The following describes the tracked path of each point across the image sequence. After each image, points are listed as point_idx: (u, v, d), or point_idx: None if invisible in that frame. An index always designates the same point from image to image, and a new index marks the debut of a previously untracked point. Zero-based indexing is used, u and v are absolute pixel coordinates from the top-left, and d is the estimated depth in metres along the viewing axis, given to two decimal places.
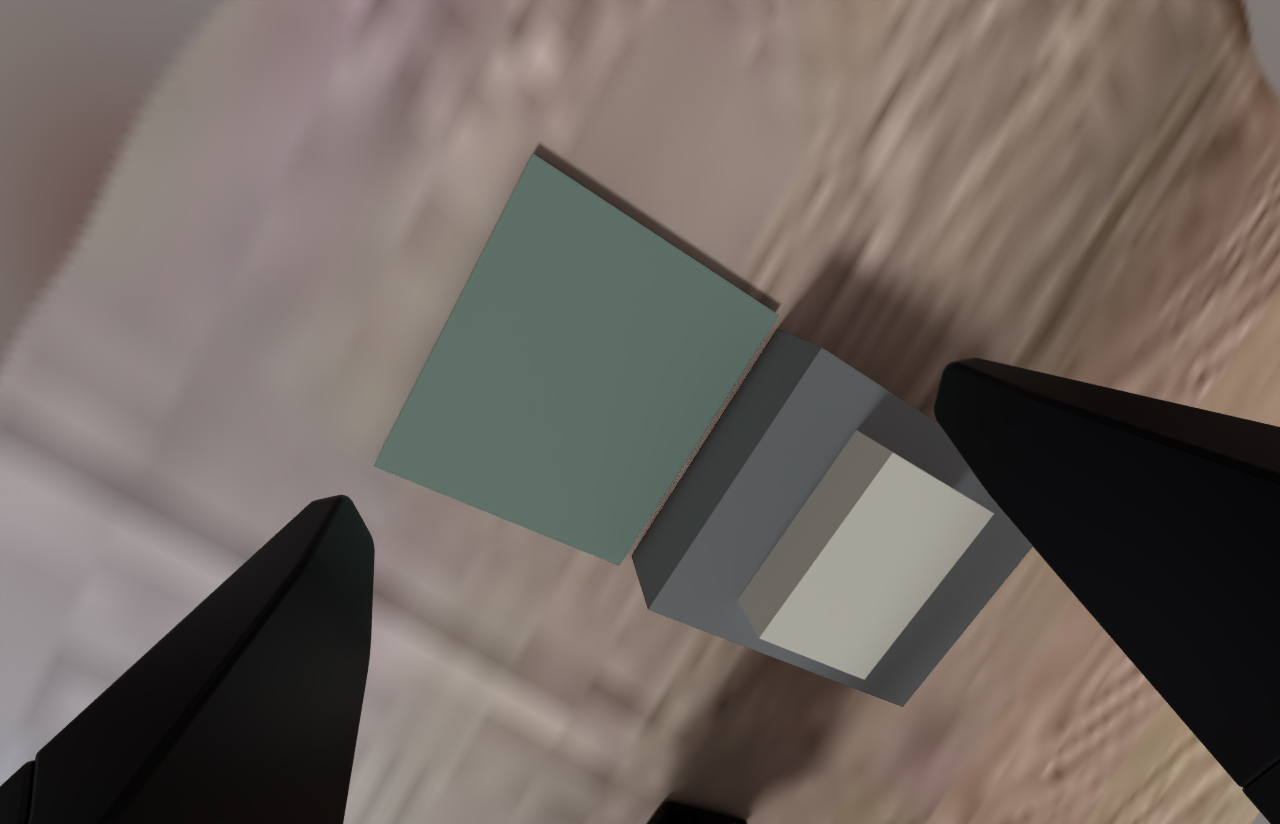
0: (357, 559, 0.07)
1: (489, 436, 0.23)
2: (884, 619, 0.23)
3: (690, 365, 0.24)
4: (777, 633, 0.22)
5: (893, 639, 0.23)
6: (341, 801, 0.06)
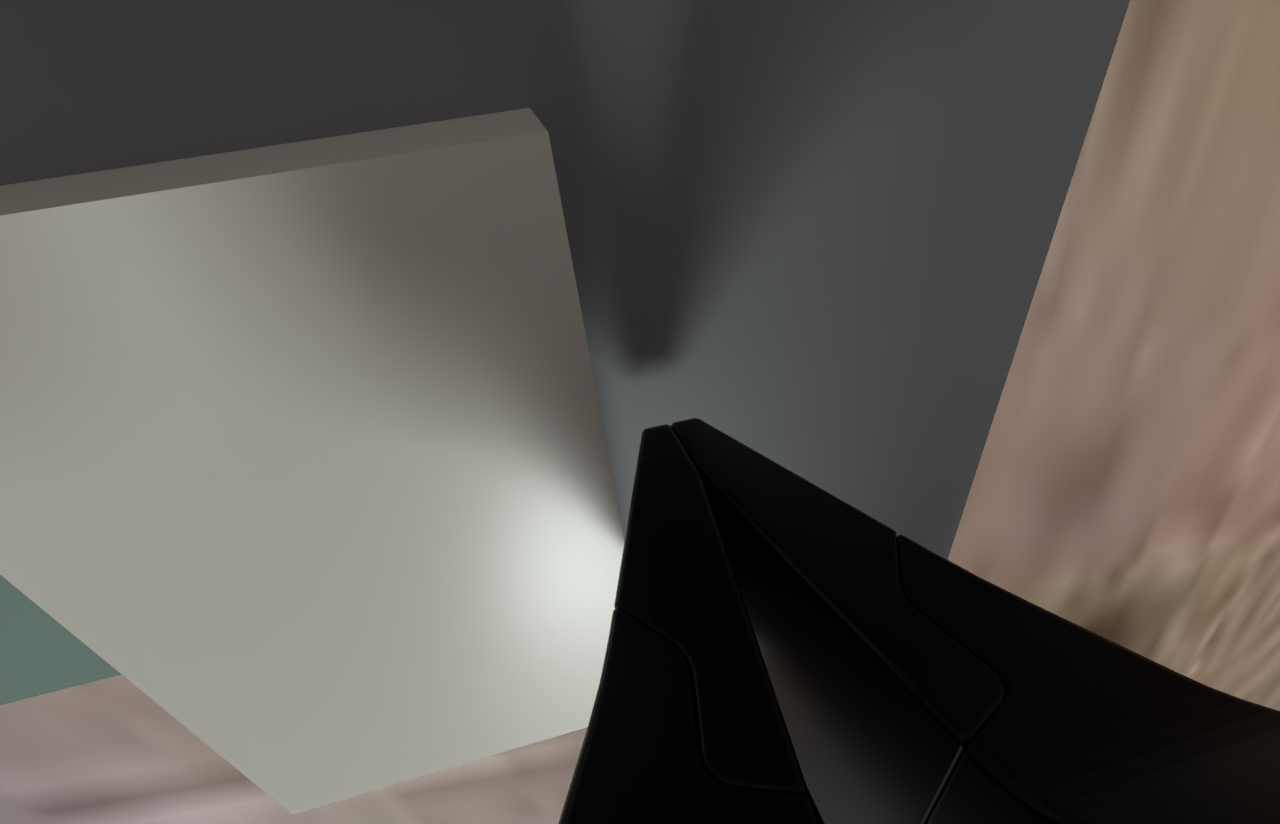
0: None
1: None
2: (550, 627, 0.08)
3: None
4: (318, 789, 0.08)
5: None
6: None
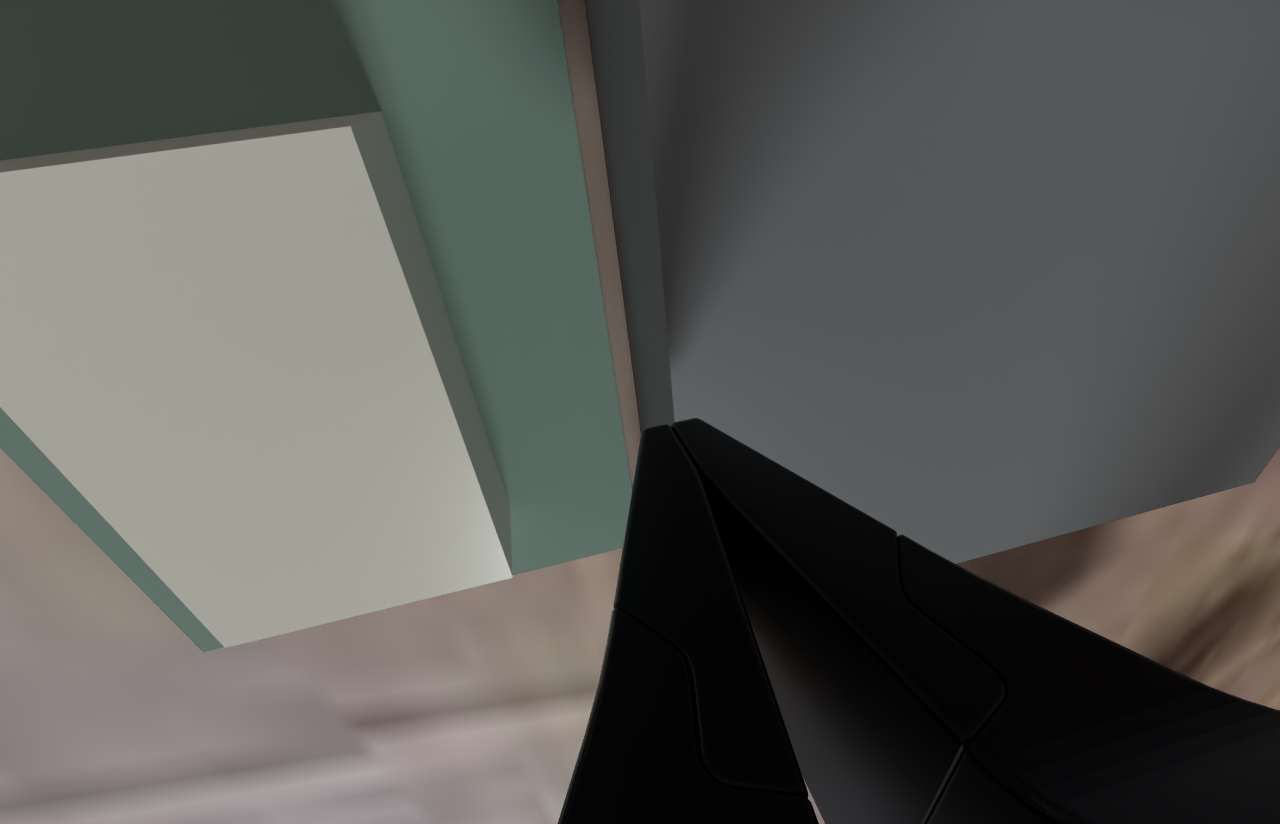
0: None
1: None
2: None
3: (459, 194, 0.10)
4: None
5: None
6: None
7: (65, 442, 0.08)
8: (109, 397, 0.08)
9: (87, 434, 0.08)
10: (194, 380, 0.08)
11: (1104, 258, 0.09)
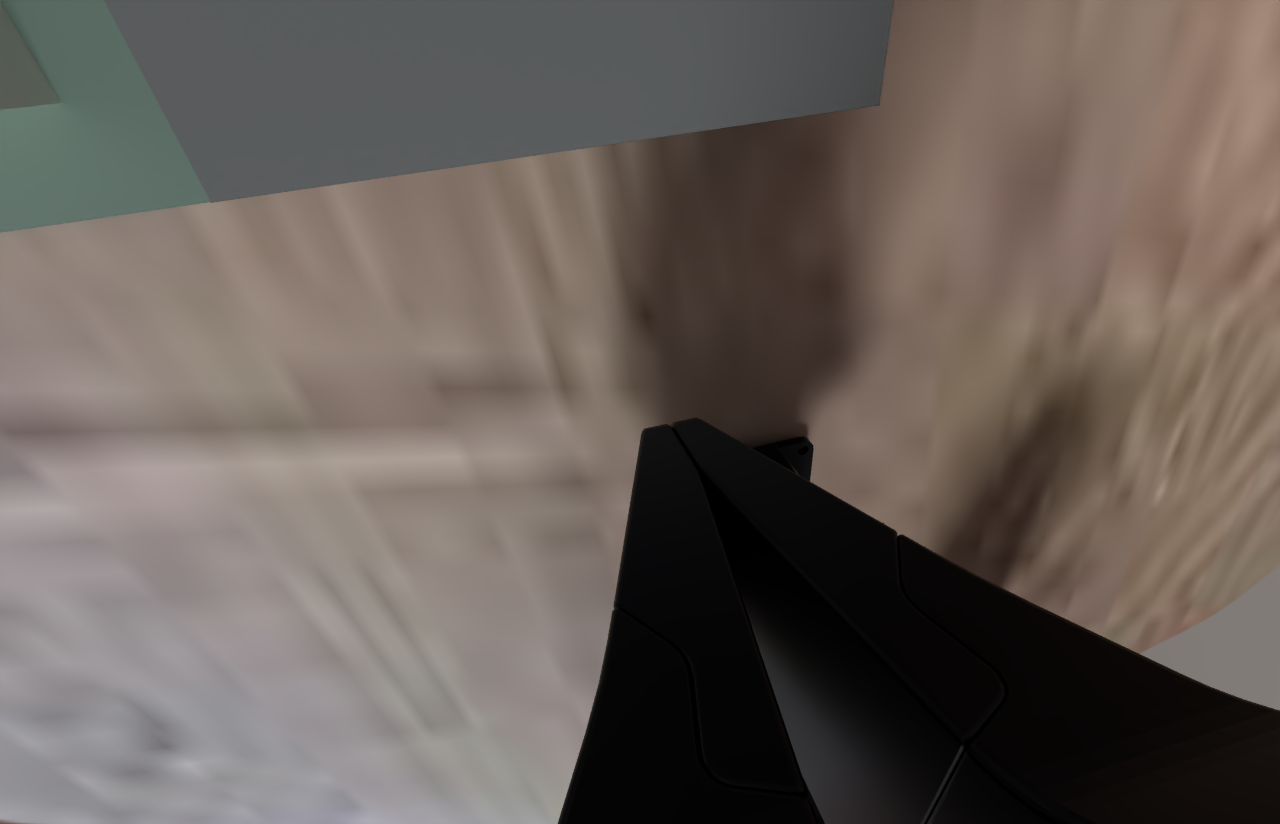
0: None
1: None
2: None
3: None
4: None
5: None
6: None
7: None
8: None
9: None
10: None
11: None
